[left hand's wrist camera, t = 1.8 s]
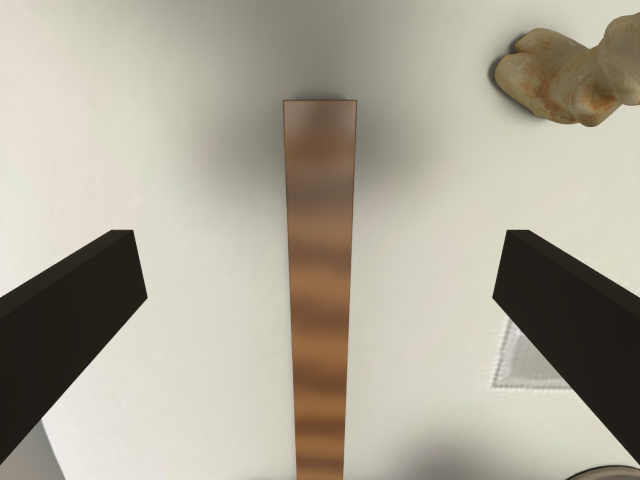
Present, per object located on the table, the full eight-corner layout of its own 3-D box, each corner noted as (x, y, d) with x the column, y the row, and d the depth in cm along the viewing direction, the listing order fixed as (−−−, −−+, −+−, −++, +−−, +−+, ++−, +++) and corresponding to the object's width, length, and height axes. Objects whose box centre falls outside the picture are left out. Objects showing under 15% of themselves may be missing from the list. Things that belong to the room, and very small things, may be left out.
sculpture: (533, 17, 27) (760, -74, 13) (586, 82, 29) (836, 63, 15) (476, 79, 29) (623, 57, 15) (529, 137, 30) (705, 166, 17)
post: (292, 100, 30) (282, 100, 22) (347, 100, 30) (357, 99, 22) (303, 506, 50) (300, 583, 42) (336, 506, 50) (339, 583, 42)
